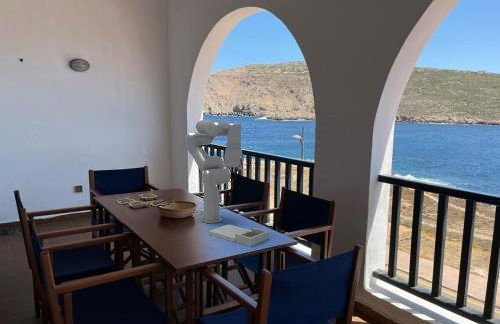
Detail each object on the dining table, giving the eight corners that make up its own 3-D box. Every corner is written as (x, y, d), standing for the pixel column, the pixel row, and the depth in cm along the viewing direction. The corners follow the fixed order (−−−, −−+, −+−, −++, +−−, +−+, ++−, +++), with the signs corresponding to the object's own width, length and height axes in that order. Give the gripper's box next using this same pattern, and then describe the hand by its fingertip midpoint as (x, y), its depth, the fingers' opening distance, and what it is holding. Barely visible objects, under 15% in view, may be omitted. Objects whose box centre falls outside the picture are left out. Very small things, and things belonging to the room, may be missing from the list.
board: (208, 234, 202) (208, 230, 202) (228, 227, 215) (228, 224, 214) (234, 242, 191) (234, 238, 191) (253, 234, 204) (253, 230, 204)
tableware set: (112, 202, 270) (112, 196, 270) (150, 196, 290) (150, 191, 289) (134, 212, 245) (134, 206, 244) (173, 205, 264) (173, 199, 264)
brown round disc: (240, 240, 195) (240, 234, 195) (249, 237, 201) (249, 231, 200) (251, 243, 191) (251, 237, 190) (259, 240, 196) (259, 234, 196)
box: (234, 241, 192) (235, 234, 191) (252, 234, 204) (253, 227, 203) (250, 246, 185) (251, 238, 185) (268, 238, 197) (268, 231, 197)
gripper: (219, 145, 206) (218, 178, 208) (240, 147, 197) (239, 181, 199) (228, 144, 211) (227, 176, 214) (249, 146, 202) (248, 180, 205)
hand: (233, 179), depth 206 cm, fingers closed
